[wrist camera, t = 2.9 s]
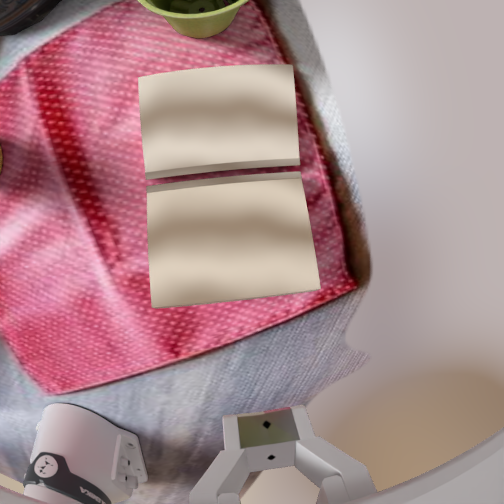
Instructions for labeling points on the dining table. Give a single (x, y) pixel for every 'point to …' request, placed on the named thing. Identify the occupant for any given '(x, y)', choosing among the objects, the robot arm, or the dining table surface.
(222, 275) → the loose plank
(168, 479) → the dining table surface
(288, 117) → the board
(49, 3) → the beer stein
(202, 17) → the plant pot
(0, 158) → the vase
